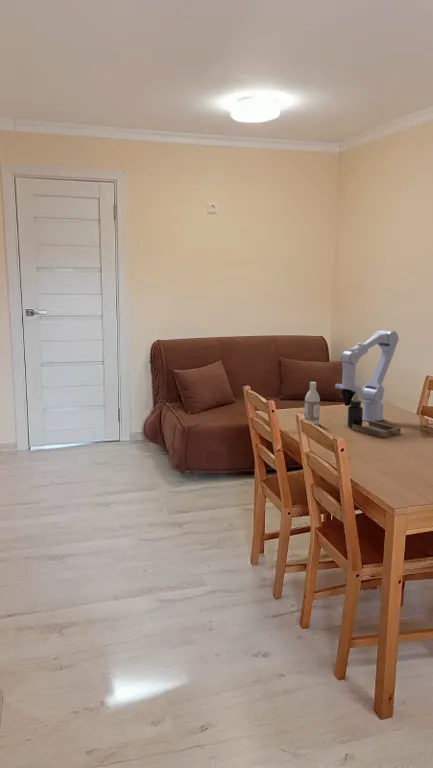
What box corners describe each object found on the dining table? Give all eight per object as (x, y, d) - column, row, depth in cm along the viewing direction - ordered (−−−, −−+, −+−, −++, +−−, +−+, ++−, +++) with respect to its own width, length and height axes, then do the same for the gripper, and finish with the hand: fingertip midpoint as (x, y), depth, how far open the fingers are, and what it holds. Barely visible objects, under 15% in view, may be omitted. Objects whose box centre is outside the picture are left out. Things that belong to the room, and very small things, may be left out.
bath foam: (311, 426, 271) (312, 384, 267) (301, 423, 276) (302, 381, 273) (322, 424, 274) (323, 382, 271) (311, 421, 280) (313, 380, 276)
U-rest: (370, 425, 273) (370, 420, 272) (400, 433, 260) (400, 428, 259) (351, 430, 265) (352, 424, 265) (381, 438, 252) (381, 432, 252)
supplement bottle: (361, 424, 275) (362, 399, 273) (363, 428, 269) (364, 402, 266) (346, 424, 276) (347, 399, 274) (348, 427, 269) (349, 402, 267)
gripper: (331, 375, 276) (330, 403, 278) (354, 380, 264) (353, 409, 266) (341, 374, 280) (340, 402, 282) (365, 378, 268) (363, 407, 271)
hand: (347, 405), depth 275 cm, fingers closed
